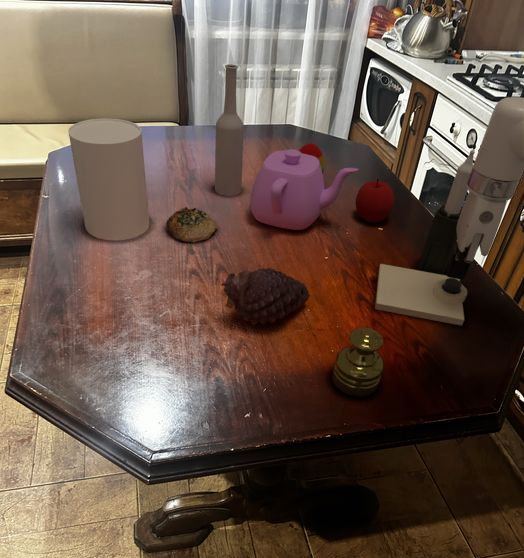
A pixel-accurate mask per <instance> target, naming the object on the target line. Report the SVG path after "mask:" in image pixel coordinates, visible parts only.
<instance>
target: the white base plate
mask: <svg viewBox="0 0 524 558" xmlns="http://www.w3.org/2000/svg"><path fill="white" fill-rule="evenodd" d="M378 267H379V268H378V273H377V274H378V275H377V283H376V292H375V294H376V295H375V303H374V310H378V311H383V312H389V313H392V314H399V315H404V316H410V317H414V318H420V319H426V320H430V321H435V322H441V323H447V324H451V325H457V326H463V325H464V322H465V313H464V305H463V303H464V302H465V300H466V299H467V295H468V289H467V287H465V286H464V285H463V284H462V286H461V288H460V290H459V293H458V294H450V293H447V292H445V291H444V290H443V286H444V283H445V281H446V279H448V278H450V277H447V274H446V275H445V274H443V275H440V274H435V273H429V272H423V271H419V270H418V269H411V268H407V267H401V266H397V265H396V266H395V265H391V264H385V263H380V264H379V266H378ZM454 279H455V278H454ZM457 280H459V281H460V282H461V279H457Z"/></svg>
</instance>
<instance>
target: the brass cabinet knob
mask: <svg viewBox="0 0 524 558" xmlns="http://www.w3.org/2000/svg"><path fill="white" fill-rule="evenodd" d="M348 341H349V343H350V345H347V346H345V347H342V348H340V349H339V350H338V352H337V353H336V356H335V360H334V361H335V362H334V364H333V370H332V375H331V378H332V382H333V384H334V386H335V387H336V388H337V389H338V390H340V391H341V392H343V393H344V394H347V395H348V396H351V397H352V396H353V397H367V396H370V395H372V394H374V393H375V391H376V390H377V389H378V386H379V383H380V381H381V379H382V374H383V372H384V370H385V362H384V360H383V358H382V356H381V355H380V354H379V353H378V352H377V351H379V350H380V349H381V348H382V347H383V345H384V338H383V336H382V334H380V333H379V332H378V331H376V330H375V329H372V328H369V327H357V328H354V329H353V330H351V332H350V333H349V336H348Z"/></svg>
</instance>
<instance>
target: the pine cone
mask: <svg viewBox="0 0 524 558" xmlns="http://www.w3.org/2000/svg"><path fill="white" fill-rule="evenodd" d="M220 285H221V287H224V288H223V292H224V293H225V294H226V296H227V299H226V303H225V306H226V307H227V308H228V309H231V308H234V309H235V311H237V312H238V314H239V315H240V316H241V317H243V320H244V321H246V322H250V324H251V325H253V326H255V325H257V324H258V323H260V325H266V323H267V322H270V323H271V324H274V323H275V322H276V321H277V319H279V320H282V319H284V317H287V316H289V314H290V313H294V312H295V311H297V309H298V308H300V307H302V305H305V303H306V302H307V301H309V298H310V297H311V295H310V290H309V289H308V287H307V286H306V283H303V282H301V281H300V280H299V279H295V278H294V277H292V276H289V275H287V274H286V273H285V272H282V271H280V270H276V269H275V268H271V267H267V268H263V267H262V268H258V269H256V270H252V271H250V270H249V269H245V270H242V271H239V273H238V274H237V276H236V274H235V273H229V275H227V278H226V279H225V281H223V282H222V283H221V284H220Z"/></svg>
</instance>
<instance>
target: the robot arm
mask: <svg viewBox="0 0 524 558" xmlns="http://www.w3.org/2000/svg"><path fill="white" fill-rule="evenodd" d="M523 174H524V97H519V96H509V97H504V98H502V99H500V100H499V101H498V102H497V103H496V104H495V106H494V108H493V111H492V113H491V116H490V119H489V121H488V124H487V127H486V129H485V132H484V134H483V138H482V140H481V143H480V146H479V148H478V151H477V154H476V157H475V160H474V161H473V168H472V170H471V173H470V176H469V178H468V181H467V184H466V188H467V190H468V193H467V195H466V197H465V200H464V202H463V205H462V207H461V209H462V211H461V214H460V217H459V220H458V223H457V241H456V244H455V247H454V250H453V253H452V255H451V257H450V260H449V263H448V266H447V268H446V276H447V277H450V278H455V279H460V281H463V280H465V278H466V276H467V273H468V272H469V268H470V266H471V264H473V262H474V260H475V257H476V254H477V251H478V249H479V250H480V256H482V257H487V256H488V255H489V254H490V251H491V248H492V245H493V243H494V241H495V238H496V235H497V233H498V230H499V228H500V224H501V222H502V219H503V215H504V212H505V209H506V205H507V201H510V200H512V199H513V197H514V195H515V192H516V190H517V188H518V187H519V183H520V181H521V178H522V176H523Z"/></svg>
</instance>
